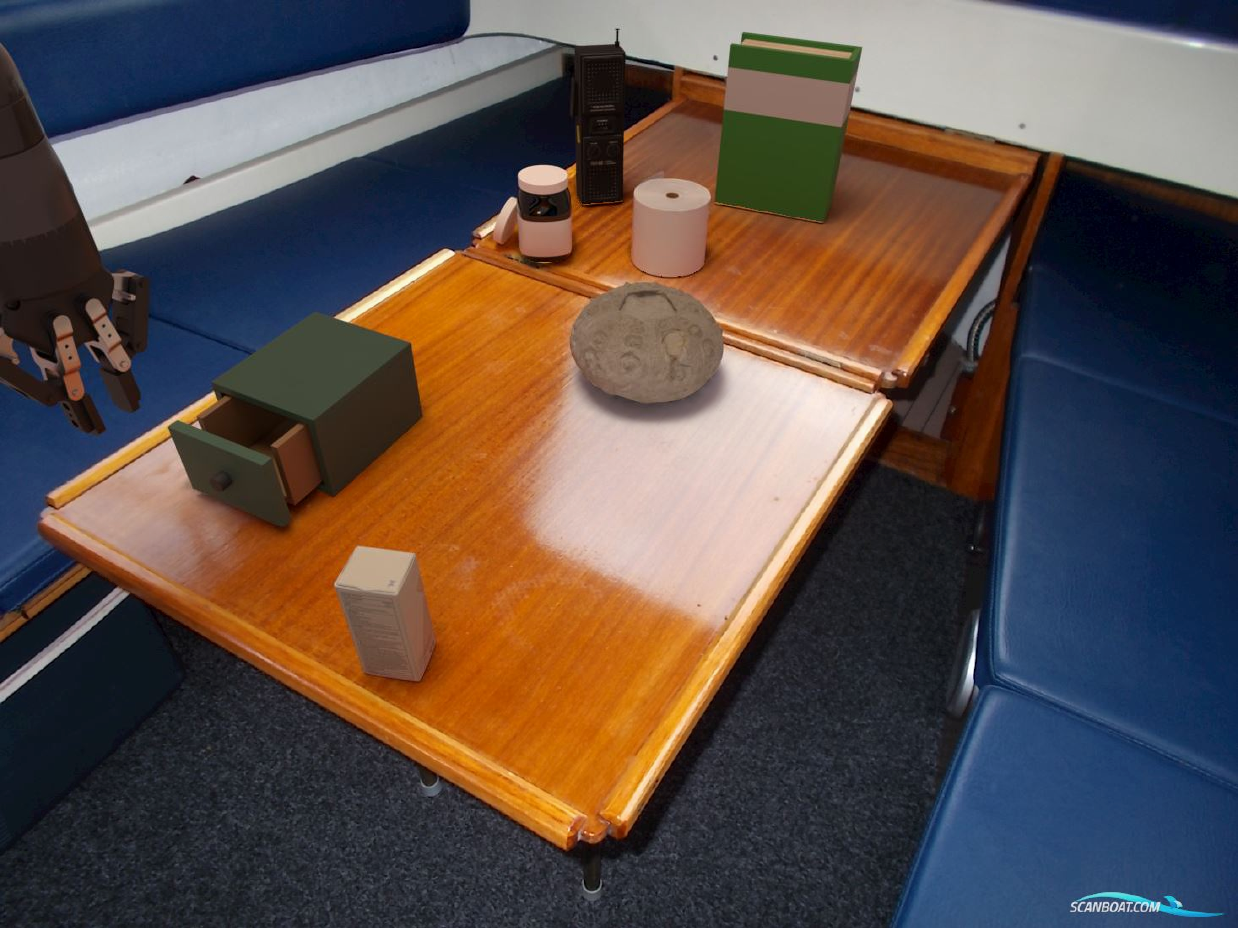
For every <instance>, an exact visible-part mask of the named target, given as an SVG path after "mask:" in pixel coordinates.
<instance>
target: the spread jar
mask: <svg viewBox="0 0 1238 928" xmlns="http://www.w3.org/2000/svg"><path fill="white" fill-rule="evenodd" d="M517 180H518V181H517V182H518V189H517V191H516V197H514V196H511V197H509V198H508V200H507V201H506V202H505V204H504V205H503V207H502V208H501V211H500V212H499V215H498V217H497V219H496V221H495V225H494V228H493V233H492V240H493V242H496V243H498V244H500V245H502V244H503V245H505V244H504V242H505V241H506V240H507V239H508V238H509V239H510V238H511V236H512V234H513V232H514V231H515V229H516V226H517V238H518V248H519V252H520V255H521V256H522V257H523V259H525V260H526V261H529V260H530V261H529V262H532V261H533V262H532V263H535V262H555V263H557V262H556V261H559V262H561V261H560V260H562V261H563V259H564V260H565V259H567V258H569V257H570V256H571V254H572V251H573V250H572V249H573V224H572V223H573V207H572V198H571V192H570V189H569V187H568V186H569V174H568V171H566V170H565V169H563V168H562V167H559V166H556V165H551V164H550V165H549V164H538V165H531V166H528V167H525V168H523V169H521V170H520V171H519V172H518V174H517ZM510 235H511V236H510ZM509 239H508V240H509ZM508 240H507V241H508ZM507 241H506V242H507Z"/></svg>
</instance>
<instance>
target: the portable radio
mask: <svg viewBox="0 0 1238 928" xmlns="http://www.w3.org/2000/svg"><path fill="white" fill-rule="evenodd" d="M614 30H615V41H614V43H609V44H607V43H606V44H588V45H575V46H574V58H573V59H574V60H573V61H574V64H573V65H574V76H571V81H570V82H571V83H570V102H569V103H570V104H569V105H570V106H569V116H570V117H571V119H572V120H574V121H575V125H574V126H575V188H576V189H575V191H576V193H577V194H576V193H575V194H576V197H577V196H578V197H577V199H578V198H579V199H580V201H581V203H582V204H591V203H603V202H615V201H621V200H623V201H624V155H625V154H624V153H625V152H624V149H625V148H624V147H625V145H624V144H625V103H626V101H625V100H626V99H625V98H626V68H627V67H626V63H627V62H626V61H627V54H626V53H627V52H626V51H625V49H624V48H623V47H622V46H621V44H620V43H621V42H620V41H619V31H620V30H621V29H620V28H614ZM574 118H575V119H574ZM579 199H578V200H579ZM580 201H579V202H580ZM581 203H580V204H581Z"/></svg>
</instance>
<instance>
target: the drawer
mask: <svg viewBox="0 0 1238 928" xmlns="http://www.w3.org/2000/svg"><path fill="white" fill-rule="evenodd" d="M196 419H197V421H198V424H199V427H200V428H199V427H197V426H194V425H191V424H189V423H187V422H184V421H182V420H178V419H176V420H175V421H173V422H171V423H170V424H169V425H168V426H167V430H168V432H169V435H170V437H171V439H172V442H173V444H174V446H175V449H176V451H177V453H178V456H179V459H180V461H181V463H182V466H183V469H184V471H185V473H186V476H187V478H188V480H189V482H190V485H191V487H192V489H193V490H195V491H197V492H199V493H202V494H204V495H206V496H209V497H211V498H213V499H215V500H217V501H221V502H222V503H225V504H227V505H229V506H232V507H234V508H236V509H238V510H241V511H243V512H246V513H248V514H250V515H253V516H255V517H257V518H260V519H262V520H264V521H266V522H268V523H271V524H273V525H276V526H278V527H280V528H282V529H283V528H285V527H286V526H287V525H288V524H290V523H291V521H292V520H293V519H292V516H291V514H290V510H289V507H288V504H291V505H293V506H297V504H298V503H300V502H301V501H302V500H303V499H304V498H305V497H306V496H308V495H309V494H310V493H311V492H313V490H315V489H314V488H315V487H317V486H318V485H319V484H320V483H321V482H322V481H323V477H322V474H321V470H320V466H319V463H318V459H317V456H316V452H315V448H314V445H313V441H312V437H311V434H310V430H309V427H308V425H307V424H304V423H301V422H299V421H296V420H294V419H291V418H288V417H286V416H283V415H280V414H278V413H275V412H273V411H270V410H267V409H265V408H262V407H259V406H257V405H254V404H251V403H249V402H246V401H244V400H241V399H238V398H236V397H233V396H230V395H228V394H227V395H226V396H224V397H223V398H222V399H220V400H219V401H216V402H215V403H213V404H212V405H210V406H208V407H207V408H205V409H204V410H203V411H201V412H200V413H198V414H197V415H196ZM287 503H288V504H287Z"/></svg>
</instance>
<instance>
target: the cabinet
mask: <svg viewBox="0 0 1238 928" xmlns="http://www.w3.org/2000/svg"><path fill="white" fill-rule="evenodd" d="M412 347H413V346H412V343H411V341H408V340H404V339H401V338H399V337H395V336H392V335H388V334H386V333H383V332H380V331H376V330H374V329H371V328H368V327H364V326H360V325H358V324H354V323H352V322H348V321H346V320H342V319H339V318H336V317H333V316H330V315H326V314H323V313H321V312H318V311H314V312H312V313H310V314H309V315H308V316H306V317H305V318H303V319H302V320H301V321H299V322H297V323H296V324H294V325H293V326H291V327H290V328H289V329H287V330H286V331H284V332H283V333H281V334H280V335H278V336H277V337H275V338H274V339H272V340H270V341H269V342H268V343H266V344H265V345H263V346H262V347H260V348H259V349H257V350H256V351H254V352H253V353H251V354H250V355H248V356H247V357H245V358H244V359H242V360H241V361H239V362H238V363H237V364H234V366H232V367H231V368H229V369H228V370H226V371H225V372H223V373H222V374H220V375H218V377H216V378H215V379H213V380H212V381H210V384H211V386H212V389H213V392H214V395H215V397H216V400H217V401H219V400H220V399H222V398H223V397H224V396H226V395H227V394H228V395H230V396H233V397H236V398H238V399H241V400H244V401H246V402H249V403H251V404H254V405H257V406H259V407H262V408H265V409H267V410H270V411H273V412H275V413H278V414H280V415H283V416H286V417H288V418H291V419H294V420H296V421H299V422H301V423H304V424H307V425H308V427H309V430H310V434H311V437H312V441H313V445H314V448H315V452H316V456H317V459H318V463H319V466H320V470H321V474H322V477H323V481H322V482H321V483H320V484H319V485H318V486H317V487H315V488H314V489H313V490H316V491H317V492H321V493H324V494H326V495H329V496H331V497H333V498H334V497H336V496H337V495H339V493H340V492H341V491H342V490H343V489H345V488H346V487H348V485H349V484H351V482H353V480H355V479H356V478H357V477H358V476H359V475H360V474H361V473H362V472H363V471H364V470H366V469H367V468H368V467H369V466H370V465H371V464H372V463H373V462H374V461H375V460H376V459H378V458H379V457H380V456H381V455H382V454H383V453H384V452H386V450H388V449H389V448H390V447H391V446H392V445H393V444H394V443H395V442H396V441H398V439H400V438H401V437H402V436H403V435H404V434H405V433H406V432H408V430H410V429H411V427H413V426H414V425H415V424H416V423H417V422H418V421H420V420H421V418H423V416H424V415H423V409H422V404H421V397H420V390H419V385H418V384H419V383H418V377H417V372H416V367H415V366H416V365H415V359H414V353H413V348H412ZM217 401H216V402H217Z"/></svg>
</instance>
